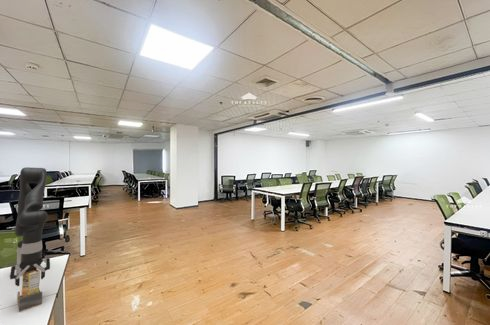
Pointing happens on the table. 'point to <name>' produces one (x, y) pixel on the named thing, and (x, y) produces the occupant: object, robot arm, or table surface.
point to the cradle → (29, 301)
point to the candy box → (30, 282)
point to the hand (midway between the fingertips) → (30, 282)
